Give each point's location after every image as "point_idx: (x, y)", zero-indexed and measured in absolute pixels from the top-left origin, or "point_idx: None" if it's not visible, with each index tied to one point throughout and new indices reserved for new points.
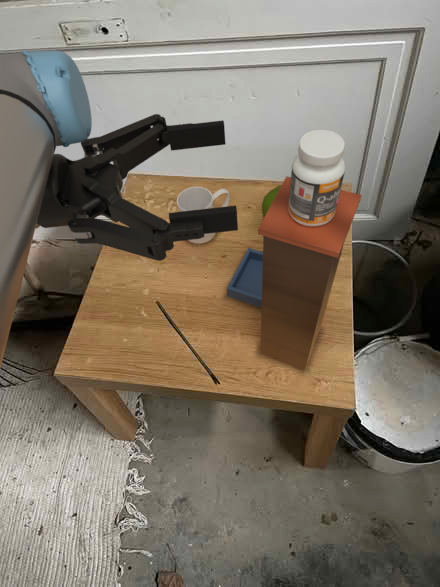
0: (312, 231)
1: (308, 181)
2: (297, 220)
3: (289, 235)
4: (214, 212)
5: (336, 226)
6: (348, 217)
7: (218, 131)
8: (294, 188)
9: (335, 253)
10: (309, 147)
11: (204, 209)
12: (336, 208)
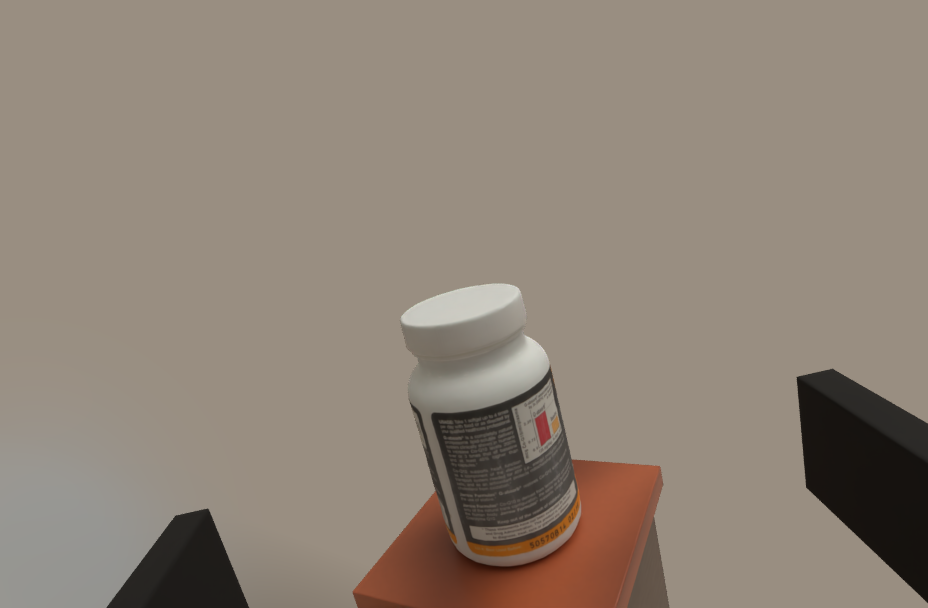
0: (593, 515)
1: (541, 375)
2: (565, 533)
3: (619, 561)
4: (902, 419)
5: None
6: None
7: (206, 564)
8: (521, 446)
9: (659, 477)
10: (473, 310)
11: (913, 453)
12: None
